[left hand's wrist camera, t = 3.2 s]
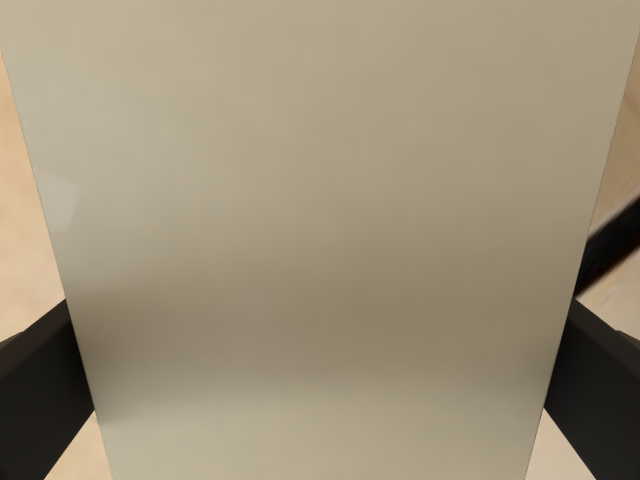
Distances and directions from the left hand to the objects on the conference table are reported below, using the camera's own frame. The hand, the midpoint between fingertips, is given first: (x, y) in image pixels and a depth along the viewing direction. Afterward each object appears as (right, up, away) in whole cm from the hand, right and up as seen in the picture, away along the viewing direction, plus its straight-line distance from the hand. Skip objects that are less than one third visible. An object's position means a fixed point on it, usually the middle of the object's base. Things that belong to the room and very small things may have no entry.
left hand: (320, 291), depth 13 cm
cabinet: (0, +7, +4) cm, 8 cm away
